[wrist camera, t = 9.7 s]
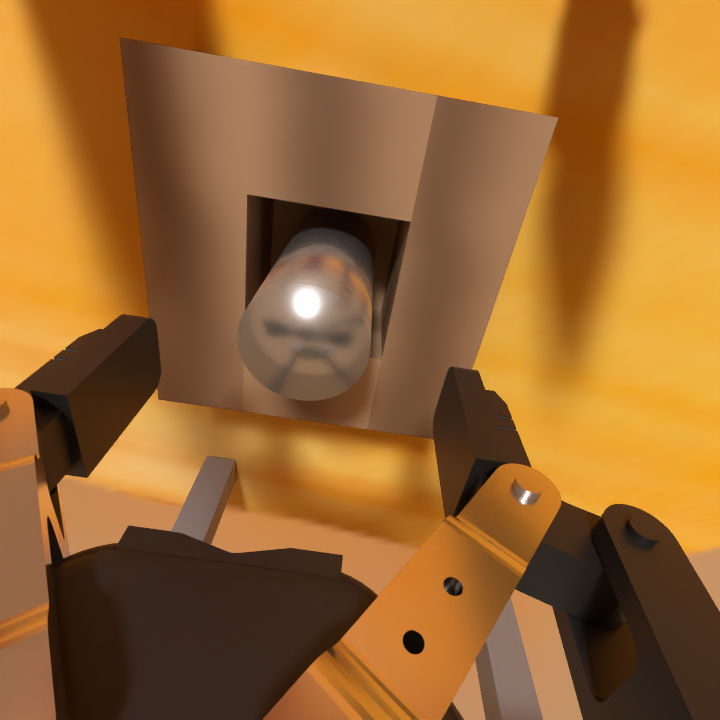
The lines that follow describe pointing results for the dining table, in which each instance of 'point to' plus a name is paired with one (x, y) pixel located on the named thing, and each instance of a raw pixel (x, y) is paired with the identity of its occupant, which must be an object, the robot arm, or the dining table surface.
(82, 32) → the dining table surface
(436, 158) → the socket block
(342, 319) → the peg
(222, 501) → the small grey stool
